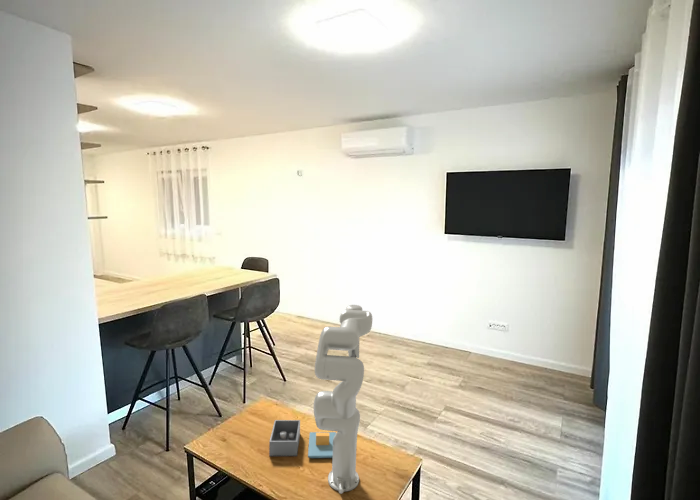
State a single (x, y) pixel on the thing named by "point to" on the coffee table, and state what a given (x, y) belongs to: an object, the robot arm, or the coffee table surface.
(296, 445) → the parts tub
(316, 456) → the tub lid
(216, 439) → the coffee table surface
